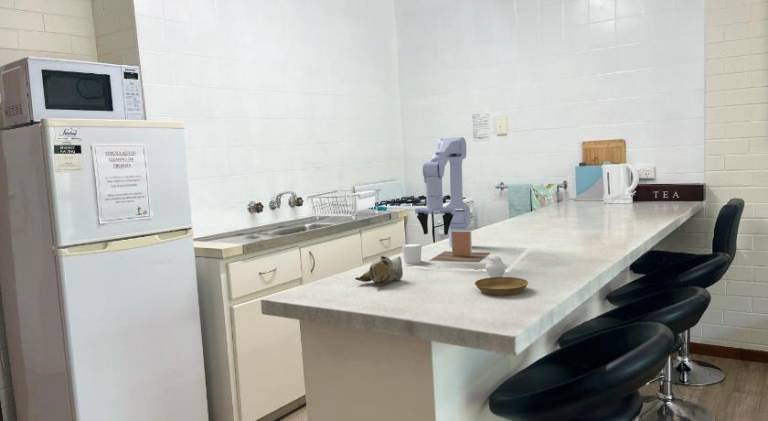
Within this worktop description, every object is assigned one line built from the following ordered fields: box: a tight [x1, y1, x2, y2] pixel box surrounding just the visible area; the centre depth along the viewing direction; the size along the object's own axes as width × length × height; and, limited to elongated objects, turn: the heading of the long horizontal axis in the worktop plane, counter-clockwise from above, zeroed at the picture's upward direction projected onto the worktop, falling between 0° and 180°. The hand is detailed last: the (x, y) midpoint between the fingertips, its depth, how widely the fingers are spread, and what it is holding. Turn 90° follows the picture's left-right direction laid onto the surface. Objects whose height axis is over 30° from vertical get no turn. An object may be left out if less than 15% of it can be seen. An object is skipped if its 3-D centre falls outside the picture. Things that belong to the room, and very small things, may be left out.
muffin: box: [484, 255, 507, 278], centre depth 182 cm, size 6×6×7 cm
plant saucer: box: [474, 276, 529, 297], centre depth 167 cm, size 15×15×3 cm
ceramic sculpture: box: [354, 255, 404, 286], centre depth 183 cm, size 11×9×15 cm
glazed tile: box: [451, 230, 473, 256], centre depth 216 cm, size 2×7×9 cm, turn 66°
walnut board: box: [428, 250, 491, 263], centre depth 215 cm, size 18×18×1 cm
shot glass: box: [401, 243, 423, 267], centre depth 209 cm, size 7×7×7 cm
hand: (436, 234), depth 210 cm, fingers open, 7 cm apart
